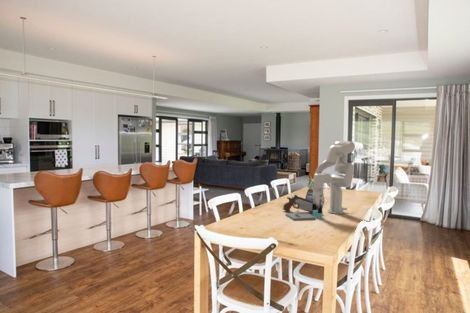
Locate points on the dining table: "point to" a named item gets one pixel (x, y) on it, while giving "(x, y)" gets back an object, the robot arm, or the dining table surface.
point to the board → (300, 216)
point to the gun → (299, 204)
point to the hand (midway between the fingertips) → (317, 211)
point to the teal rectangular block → (317, 214)
